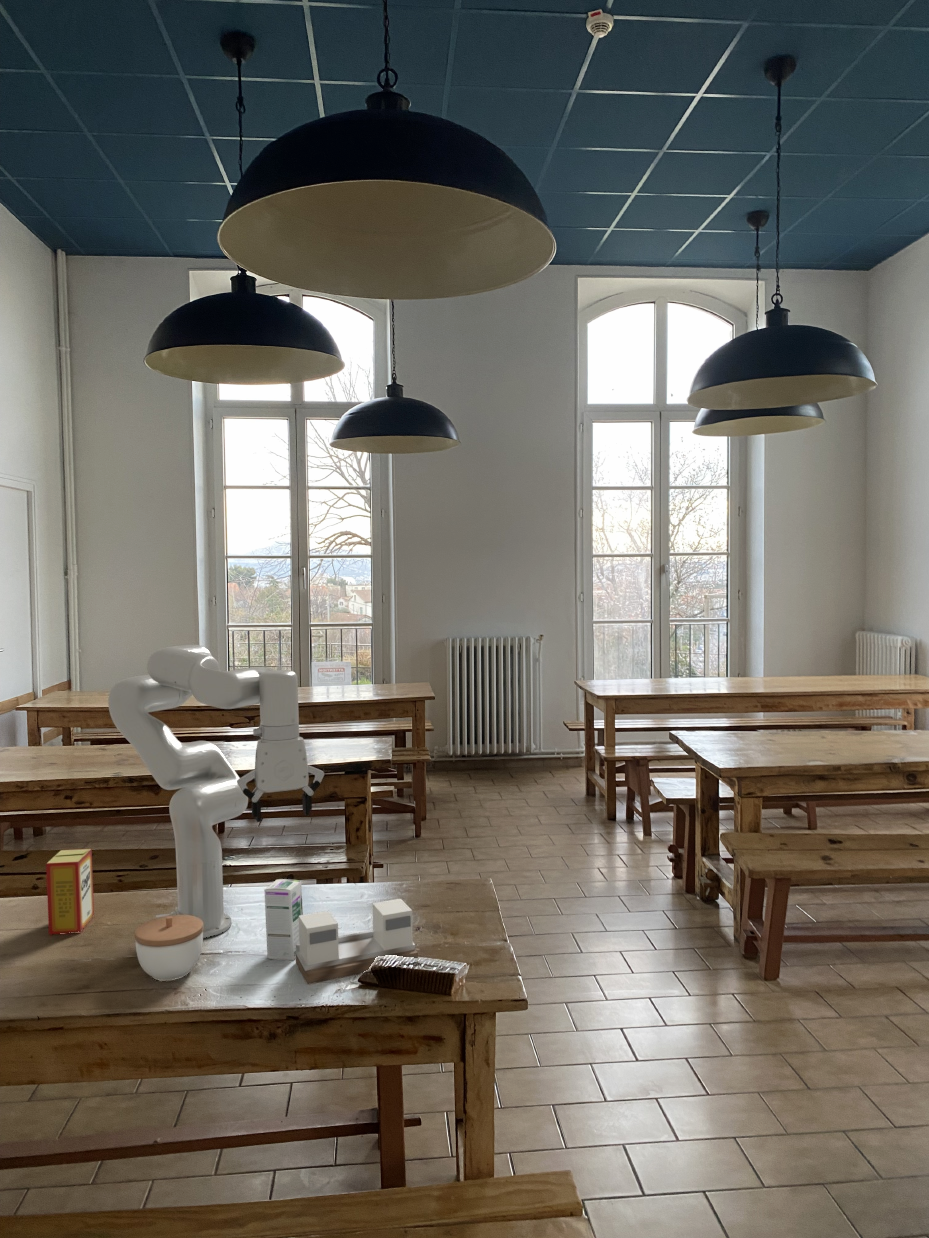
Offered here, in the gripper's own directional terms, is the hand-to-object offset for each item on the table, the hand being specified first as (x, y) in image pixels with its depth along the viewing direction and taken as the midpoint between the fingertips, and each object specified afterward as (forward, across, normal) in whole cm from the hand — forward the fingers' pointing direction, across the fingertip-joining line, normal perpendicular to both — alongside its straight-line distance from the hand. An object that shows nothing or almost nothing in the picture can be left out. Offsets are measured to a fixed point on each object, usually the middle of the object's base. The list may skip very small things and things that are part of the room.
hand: (282, 817), depth 177 cm
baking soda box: (+28, -40, +35) cm, 60 cm away
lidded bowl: (+28, -22, +1) cm, 36 cm away
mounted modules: (+25, +12, -10) cm, 29 cm away
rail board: (+28, +12, -10) cm, 32 cm away
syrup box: (+28, 0, 0) cm, 28 cm away
